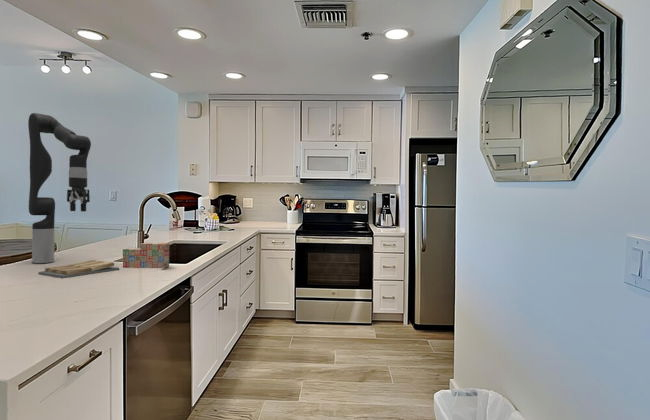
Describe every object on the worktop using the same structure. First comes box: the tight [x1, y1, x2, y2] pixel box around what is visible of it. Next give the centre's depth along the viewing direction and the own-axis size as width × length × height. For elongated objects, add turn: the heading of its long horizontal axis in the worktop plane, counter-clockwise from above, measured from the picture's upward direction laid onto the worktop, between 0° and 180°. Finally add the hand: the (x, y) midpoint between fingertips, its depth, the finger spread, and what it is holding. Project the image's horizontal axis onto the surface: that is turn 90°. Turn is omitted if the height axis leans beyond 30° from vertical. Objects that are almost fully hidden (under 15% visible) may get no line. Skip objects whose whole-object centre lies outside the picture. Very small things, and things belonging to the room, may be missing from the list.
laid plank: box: [44, 264, 91, 275], centre depth 182 cm, size 18×10×2 cm, turn 62°
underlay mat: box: [37, 266, 120, 279], centre depth 187 cm, size 19×26×1 cm
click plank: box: [69, 259, 115, 271], centre depth 191 cm, size 18×11×2 cm, turn 62°
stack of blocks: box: [122, 242, 170, 269], centre depth 203 cm, size 21×6×12 cm, turn 87°
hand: (78, 211), depth 191 cm, fingers open, 8 cm apart
